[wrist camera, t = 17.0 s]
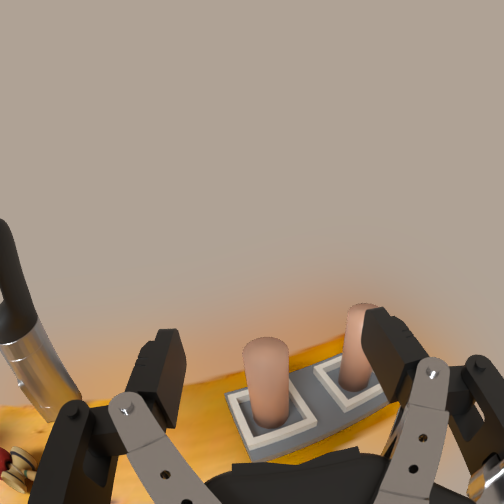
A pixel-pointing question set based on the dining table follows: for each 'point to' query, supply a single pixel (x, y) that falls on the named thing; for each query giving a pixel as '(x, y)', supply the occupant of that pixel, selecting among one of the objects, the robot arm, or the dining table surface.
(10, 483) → the kendama
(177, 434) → the dining table surface
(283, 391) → the post
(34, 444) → the dining table surface
